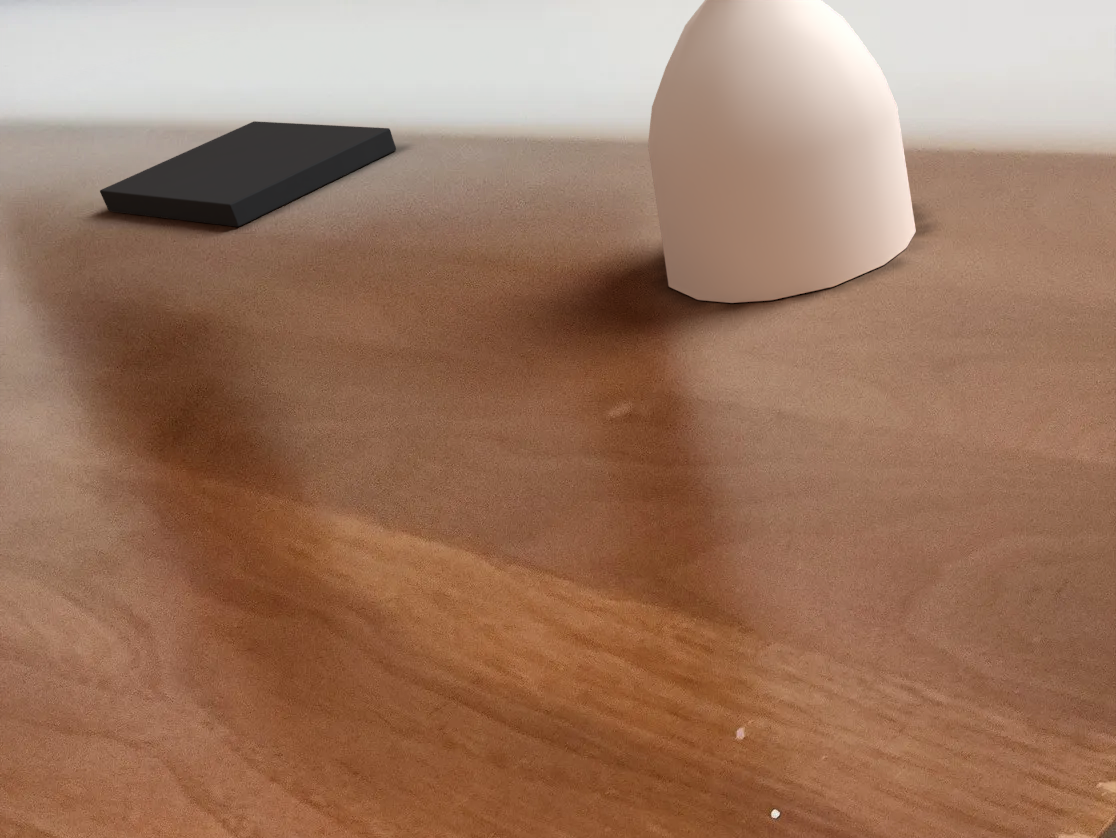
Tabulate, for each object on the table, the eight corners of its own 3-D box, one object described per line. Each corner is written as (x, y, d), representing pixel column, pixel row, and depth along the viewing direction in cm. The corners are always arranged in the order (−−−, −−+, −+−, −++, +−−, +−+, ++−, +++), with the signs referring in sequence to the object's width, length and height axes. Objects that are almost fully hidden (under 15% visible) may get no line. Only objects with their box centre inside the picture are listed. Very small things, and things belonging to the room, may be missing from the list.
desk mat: (108, 211, 88) (98, 190, 87) (261, 141, 93) (254, 120, 92) (238, 227, 80) (229, 204, 79) (397, 150, 86) (390, 127, 85)
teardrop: (859, 182, 67) (823, -140, 58) (958, 247, 59) (933, -114, 50) (635, 251, 66) (565, -67, 57) (705, 326, 58) (636, -29, 49)
